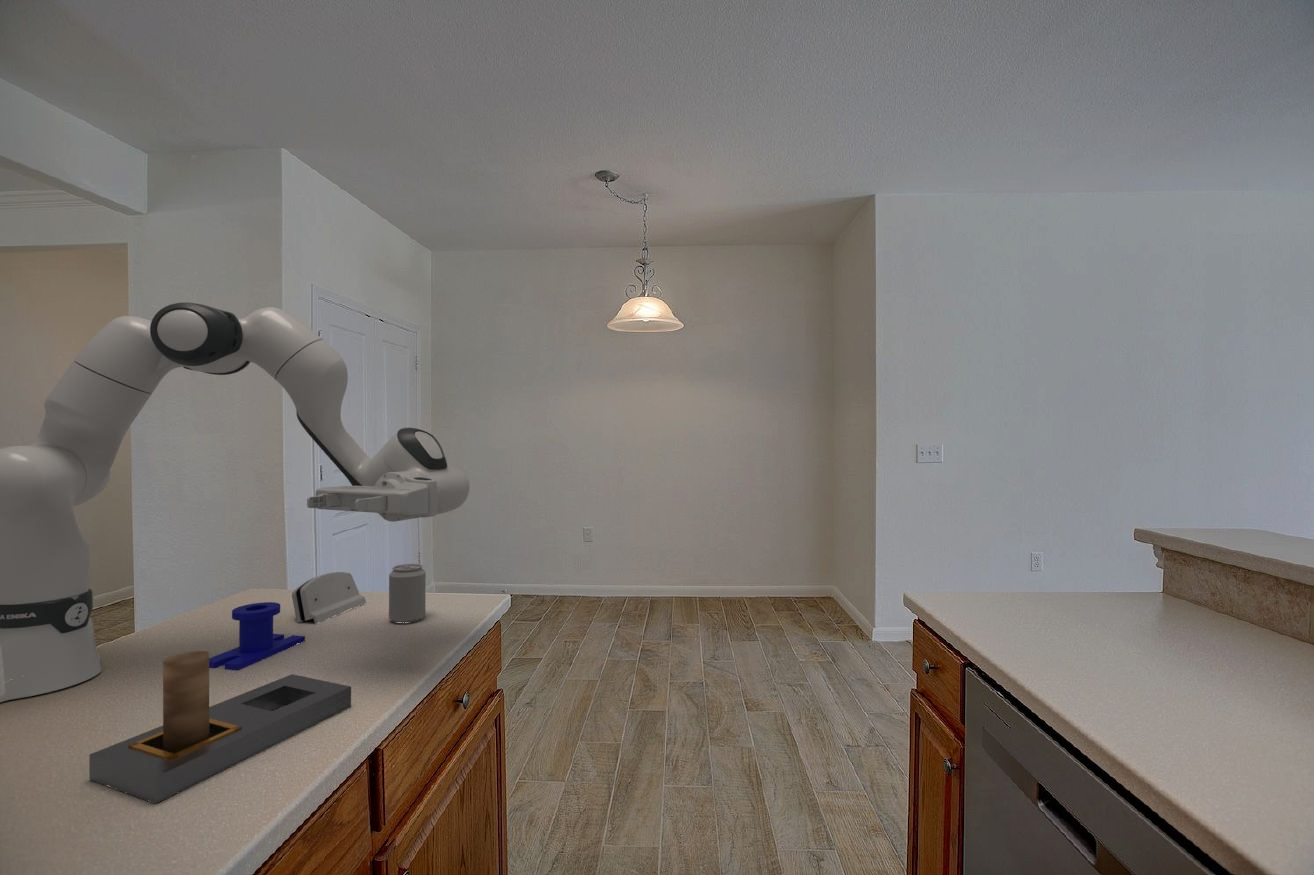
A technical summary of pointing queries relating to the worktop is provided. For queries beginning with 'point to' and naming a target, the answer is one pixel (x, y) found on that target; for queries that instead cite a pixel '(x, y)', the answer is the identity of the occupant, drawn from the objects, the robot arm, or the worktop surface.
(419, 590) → the can
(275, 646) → the mount
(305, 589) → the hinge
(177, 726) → the peg
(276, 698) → the grey slotted board
